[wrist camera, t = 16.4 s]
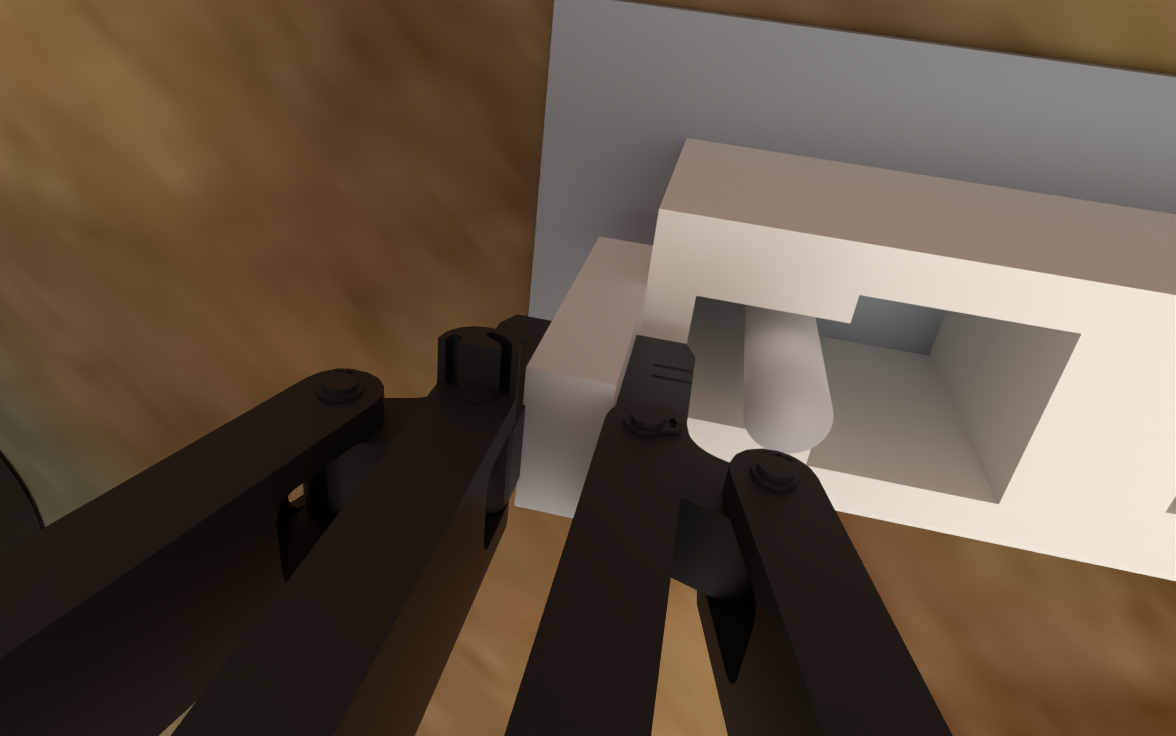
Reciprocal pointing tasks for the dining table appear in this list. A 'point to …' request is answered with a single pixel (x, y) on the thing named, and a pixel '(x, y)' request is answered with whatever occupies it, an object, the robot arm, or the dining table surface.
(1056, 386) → the white slotted block
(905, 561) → the dining table surface
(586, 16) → the grey piece
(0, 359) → the dining table surface
